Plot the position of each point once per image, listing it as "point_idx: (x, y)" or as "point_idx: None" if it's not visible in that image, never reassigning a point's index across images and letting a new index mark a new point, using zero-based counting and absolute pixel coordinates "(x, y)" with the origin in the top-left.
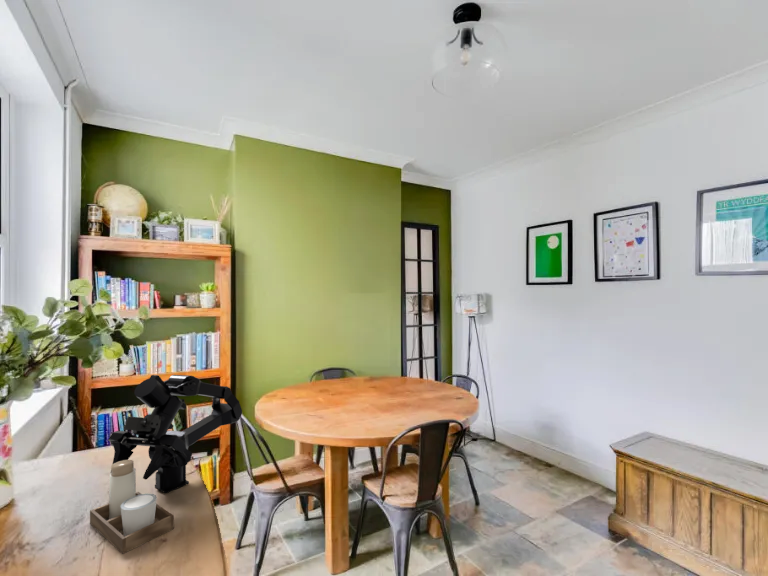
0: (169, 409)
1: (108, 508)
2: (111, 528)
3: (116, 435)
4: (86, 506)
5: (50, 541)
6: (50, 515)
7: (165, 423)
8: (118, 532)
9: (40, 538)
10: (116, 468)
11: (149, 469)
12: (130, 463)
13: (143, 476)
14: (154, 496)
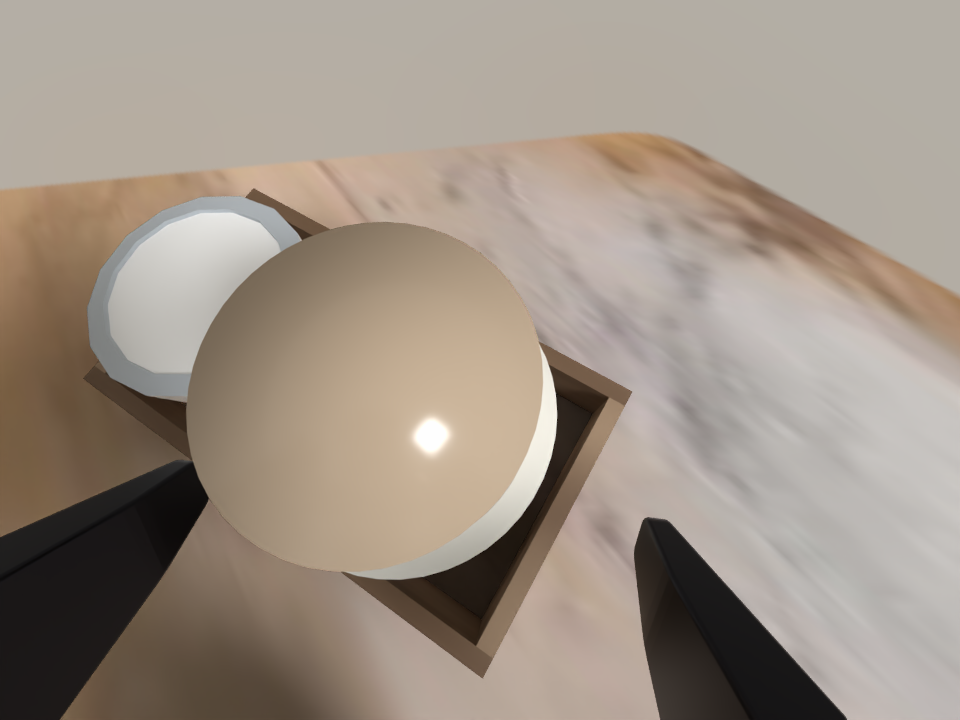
0: None
1: (567, 471)
2: None
3: None
4: (824, 590)
5: (668, 269)
6: (943, 470)
7: None
8: (303, 226)
9: (741, 283)
10: (357, 224)
11: (58, 512)
12: (219, 398)
13: (181, 464)
14: (107, 352)
